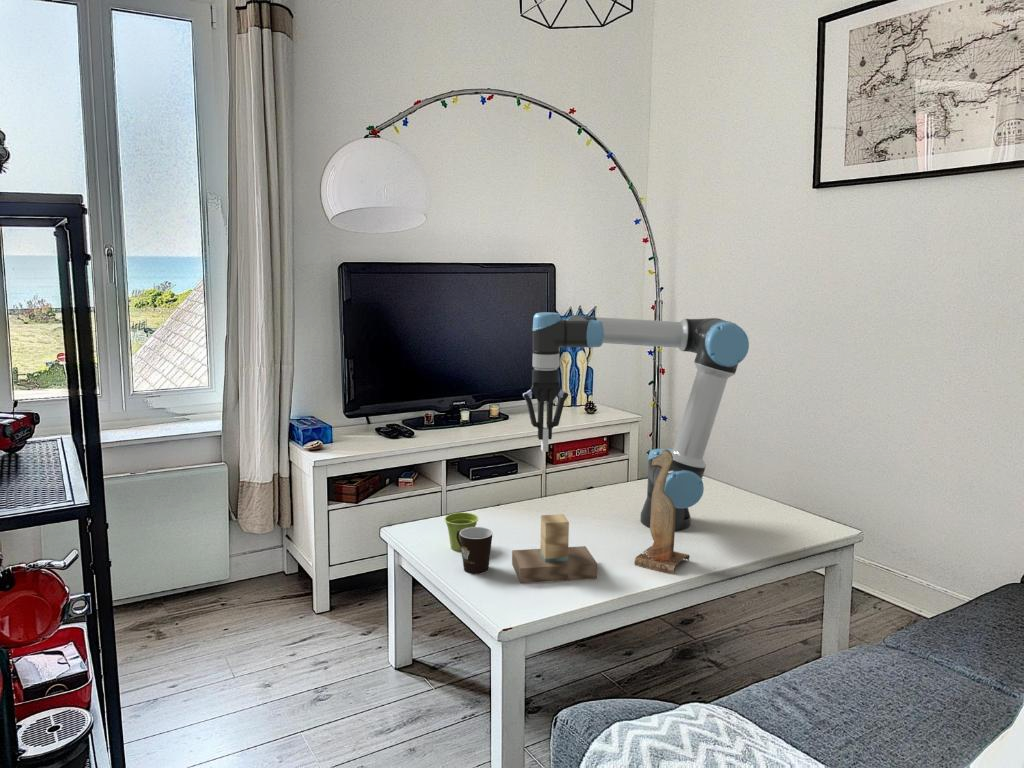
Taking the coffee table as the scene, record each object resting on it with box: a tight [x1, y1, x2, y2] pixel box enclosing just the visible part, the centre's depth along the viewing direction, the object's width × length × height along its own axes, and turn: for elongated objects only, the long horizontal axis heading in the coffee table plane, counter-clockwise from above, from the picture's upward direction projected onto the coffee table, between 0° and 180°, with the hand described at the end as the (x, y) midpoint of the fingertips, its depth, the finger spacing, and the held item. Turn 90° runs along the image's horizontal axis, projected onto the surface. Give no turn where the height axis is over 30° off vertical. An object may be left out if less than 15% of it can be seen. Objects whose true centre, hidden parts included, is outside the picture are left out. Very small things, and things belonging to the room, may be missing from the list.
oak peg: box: [540, 513, 570, 562], centre depth 203 cm, size 6×6×14 cm
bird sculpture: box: [634, 448, 690, 575], centre depth 208 cm, size 11×12×32 cm
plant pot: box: [444, 512, 479, 552], centre depth 220 cm, size 9×9×9 cm
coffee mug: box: [456, 526, 494, 575], centre depth 206 cm, size 12×9×10 cm
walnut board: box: [511, 545, 599, 584], centre depth 204 cm, size 20×12×4 cm, turn 100°
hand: (544, 450), depth 223 cm, fingers closed
